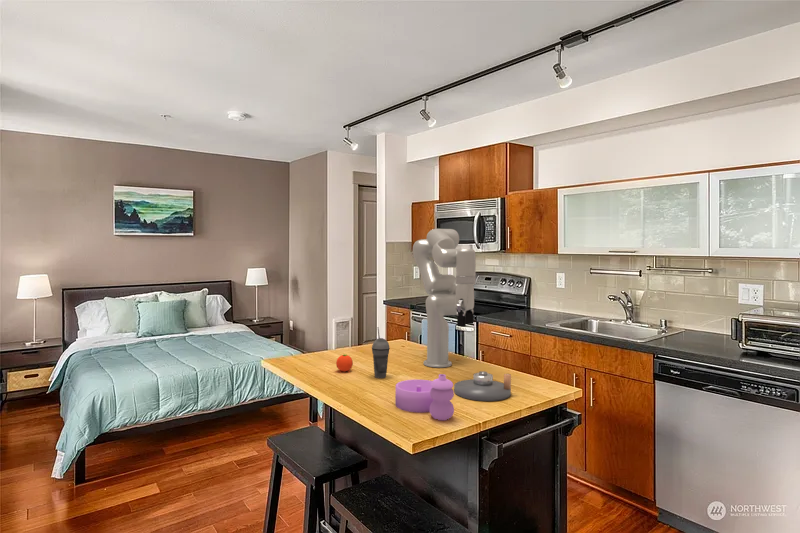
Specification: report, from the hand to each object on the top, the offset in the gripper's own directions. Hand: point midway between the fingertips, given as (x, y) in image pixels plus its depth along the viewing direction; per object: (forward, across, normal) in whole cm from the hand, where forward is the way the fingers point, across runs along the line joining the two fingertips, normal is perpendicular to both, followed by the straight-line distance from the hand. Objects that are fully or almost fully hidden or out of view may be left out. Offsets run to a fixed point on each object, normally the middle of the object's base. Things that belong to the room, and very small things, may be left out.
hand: (465, 324), depth 184 cm
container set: (+23, +36, -2) cm, 43 cm away
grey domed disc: (+23, +10, +10) cm, 27 cm away
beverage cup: (+22, +8, -33) cm, 40 cm away
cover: (+20, +6, +9) cm, 23 cm away
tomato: (+22, +7, -50) cm, 55 cm away
